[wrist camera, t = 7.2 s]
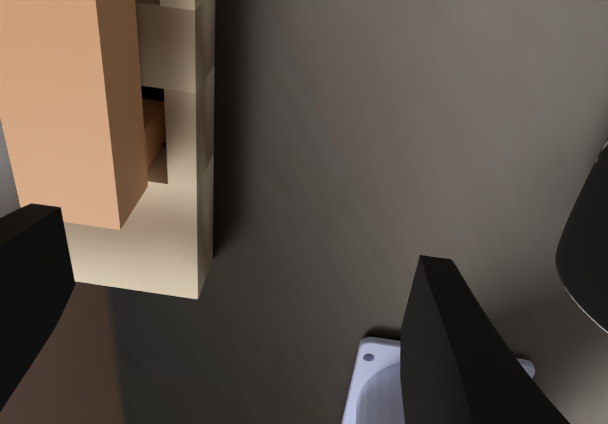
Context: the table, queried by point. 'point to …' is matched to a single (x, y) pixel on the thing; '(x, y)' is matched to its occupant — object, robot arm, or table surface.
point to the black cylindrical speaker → (588, 245)
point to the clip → (77, 107)
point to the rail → (165, 165)
